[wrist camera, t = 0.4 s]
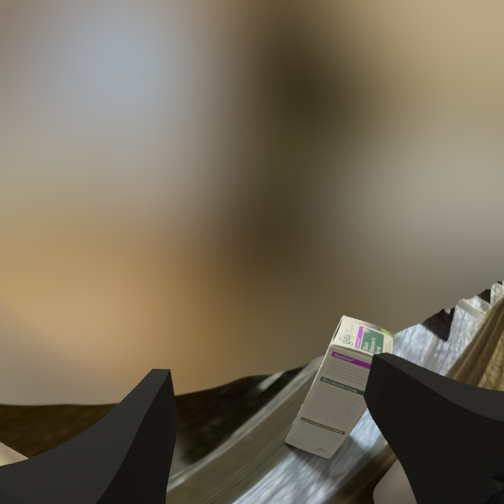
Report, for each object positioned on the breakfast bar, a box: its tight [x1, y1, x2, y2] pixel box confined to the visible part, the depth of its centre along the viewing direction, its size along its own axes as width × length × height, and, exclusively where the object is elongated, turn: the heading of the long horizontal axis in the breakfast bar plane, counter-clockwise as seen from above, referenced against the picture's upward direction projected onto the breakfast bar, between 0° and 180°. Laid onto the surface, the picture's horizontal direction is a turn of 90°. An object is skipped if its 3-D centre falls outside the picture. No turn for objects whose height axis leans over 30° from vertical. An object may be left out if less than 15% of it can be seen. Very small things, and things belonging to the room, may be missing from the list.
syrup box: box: [285, 316, 394, 459], centre depth 26 cm, size 6×6×14 cm
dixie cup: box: [373, 459, 417, 504], centre depth 18 cm, size 8×8×10 cm
